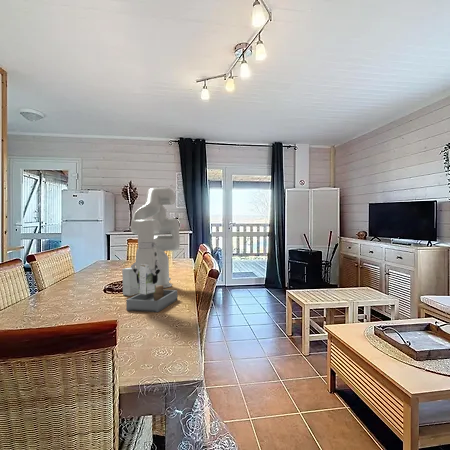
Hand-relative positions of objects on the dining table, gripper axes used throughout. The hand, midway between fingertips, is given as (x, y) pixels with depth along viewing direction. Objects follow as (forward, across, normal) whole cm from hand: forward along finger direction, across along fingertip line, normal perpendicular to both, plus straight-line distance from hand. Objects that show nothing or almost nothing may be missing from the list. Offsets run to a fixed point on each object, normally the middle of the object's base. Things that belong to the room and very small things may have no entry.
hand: (147, 282), depth 152 cm
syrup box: (+5, 0, 0) cm, 5 cm away
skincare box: (+12, +23, -24) cm, 35 cm away
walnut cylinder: (+11, 0, -11) cm, 16 cm away
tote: (+12, 0, -6) cm, 13 cm away
